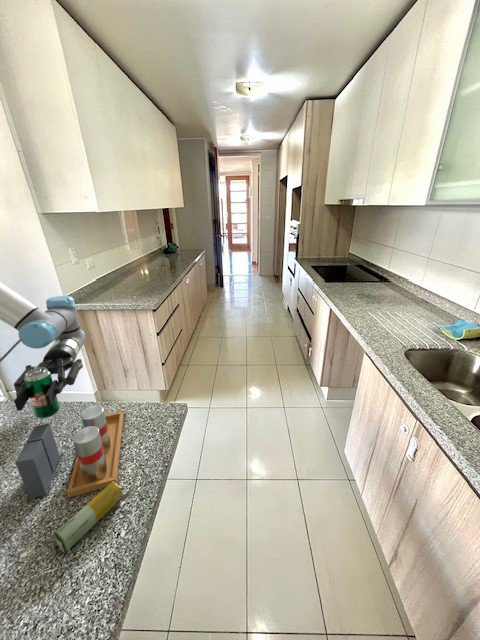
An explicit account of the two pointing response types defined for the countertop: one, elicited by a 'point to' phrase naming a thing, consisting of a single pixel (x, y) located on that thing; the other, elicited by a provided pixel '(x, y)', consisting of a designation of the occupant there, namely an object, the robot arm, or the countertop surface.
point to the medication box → (87, 517)
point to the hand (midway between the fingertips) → (33, 402)
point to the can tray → (112, 458)
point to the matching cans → (92, 444)
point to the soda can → (40, 392)
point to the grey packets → (38, 460)
